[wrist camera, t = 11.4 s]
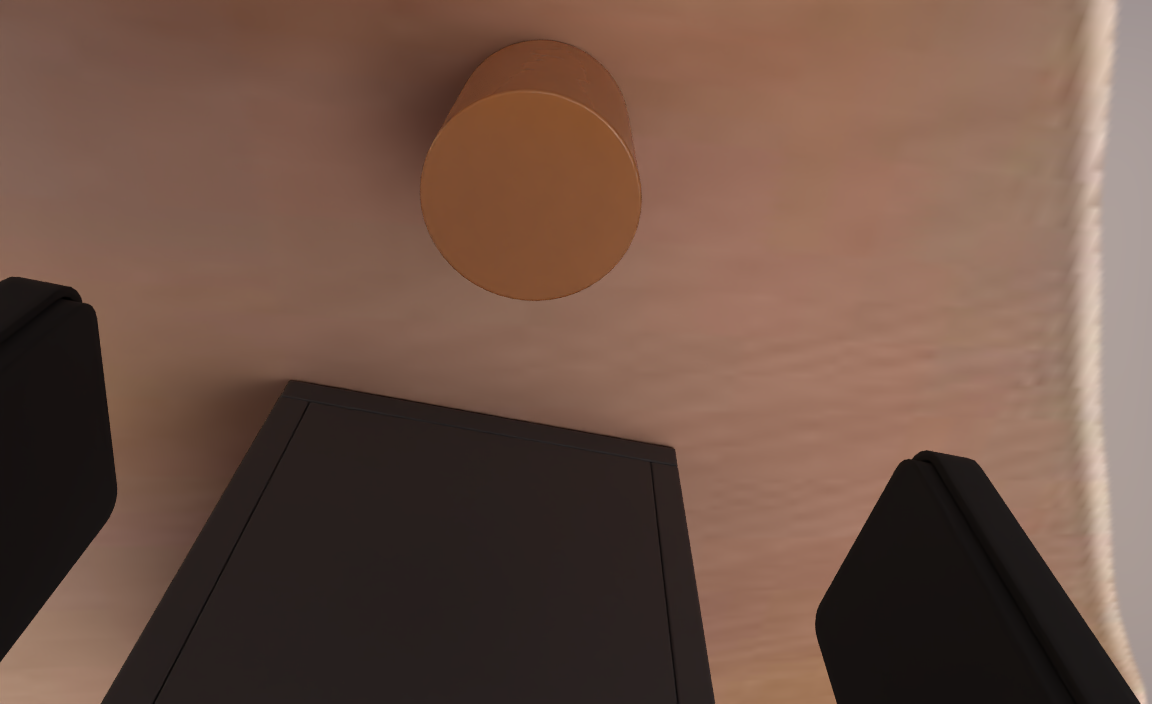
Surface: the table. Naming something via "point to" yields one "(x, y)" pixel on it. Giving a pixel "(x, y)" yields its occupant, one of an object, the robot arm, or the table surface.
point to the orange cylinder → (534, 174)
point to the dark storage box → (430, 568)
